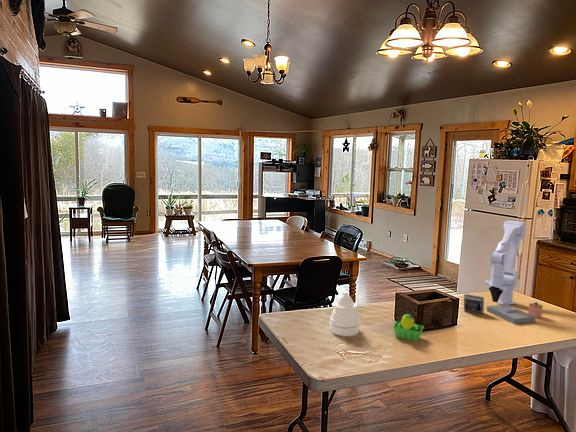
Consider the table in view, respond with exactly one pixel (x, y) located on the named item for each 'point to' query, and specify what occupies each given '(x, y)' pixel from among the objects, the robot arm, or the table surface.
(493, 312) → the socket plate
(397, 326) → the fruit basket
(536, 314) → the plug
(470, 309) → the electrical switch
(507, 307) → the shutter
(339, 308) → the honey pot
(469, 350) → the table surface
